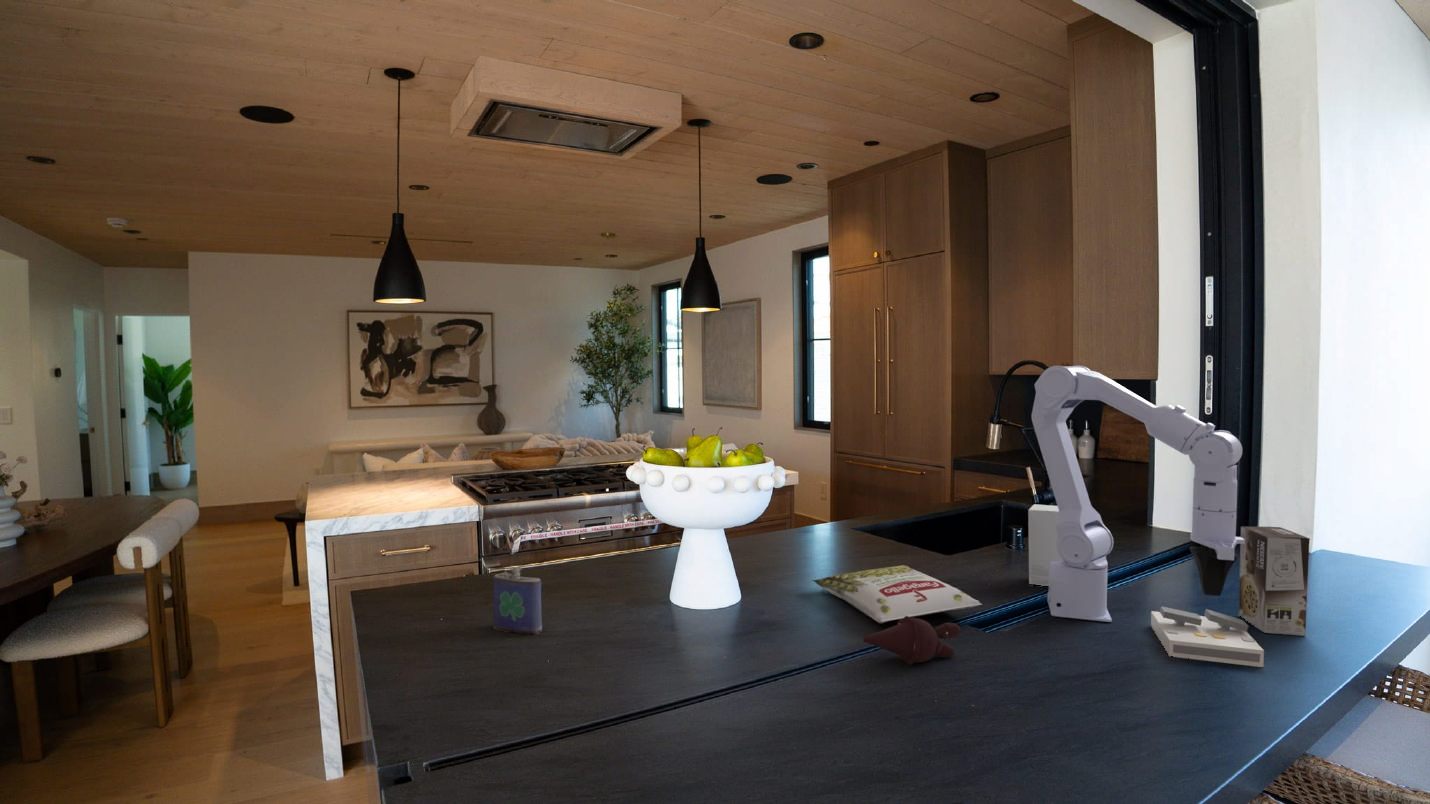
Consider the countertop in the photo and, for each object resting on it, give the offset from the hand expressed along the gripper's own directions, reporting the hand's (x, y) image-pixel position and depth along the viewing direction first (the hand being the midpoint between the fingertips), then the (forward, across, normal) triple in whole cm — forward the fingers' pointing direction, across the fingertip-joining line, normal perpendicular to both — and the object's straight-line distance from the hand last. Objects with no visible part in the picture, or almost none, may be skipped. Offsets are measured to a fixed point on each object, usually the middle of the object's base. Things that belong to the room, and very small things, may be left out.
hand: (1211, 594), depth 118 cm
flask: (+8, -32, +107) cm, 112 cm away
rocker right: (+5, 0, -2) cm, 5 cm away
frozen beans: (+8, +2, +49) cm, 50 cm away
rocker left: (+5, 0, +4) cm, 7 cm away
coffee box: (+8, +13, -12) cm, 19 cm away
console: (+8, -1, +1) cm, 8 cm away
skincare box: (+8, +26, +21) cm, 35 cm away
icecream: (+8, -23, +44) cm, 50 cm away
